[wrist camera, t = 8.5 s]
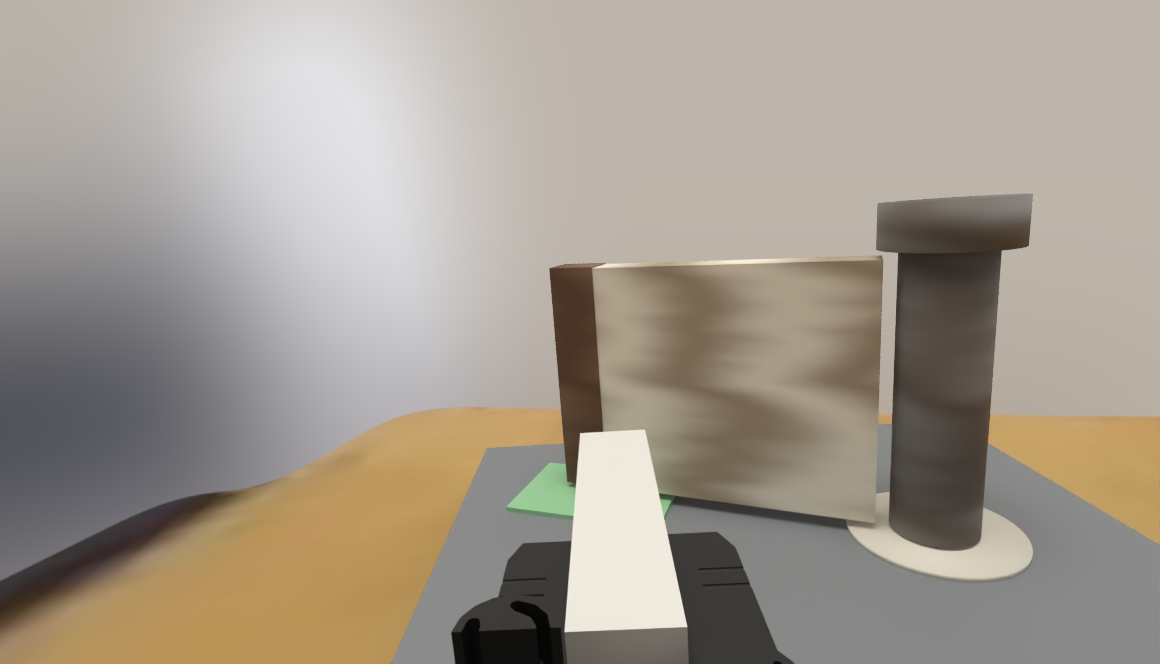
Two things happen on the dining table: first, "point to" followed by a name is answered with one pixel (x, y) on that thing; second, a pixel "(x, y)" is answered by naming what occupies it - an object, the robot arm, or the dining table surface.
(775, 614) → the dial plate
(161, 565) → the dining table surface
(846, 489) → the wooden panel with post
